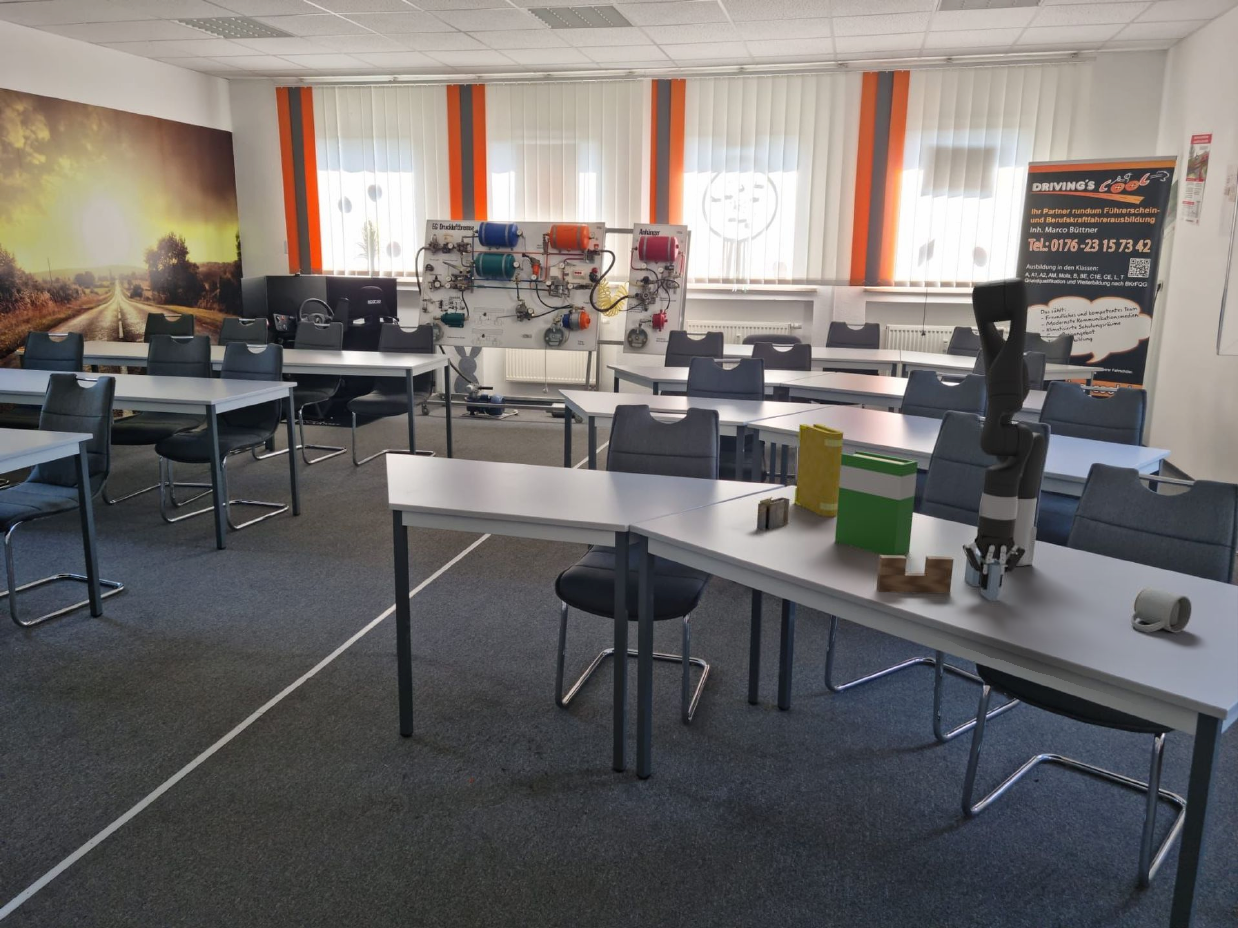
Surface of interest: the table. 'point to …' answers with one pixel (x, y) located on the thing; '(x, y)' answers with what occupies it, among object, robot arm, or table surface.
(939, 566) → the walnut plate
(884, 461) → the hardback book
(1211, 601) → the table surface
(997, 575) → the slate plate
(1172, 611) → the ceramic mug
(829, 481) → the book
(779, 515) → the weathered grey slotted block
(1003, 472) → the robot arm
